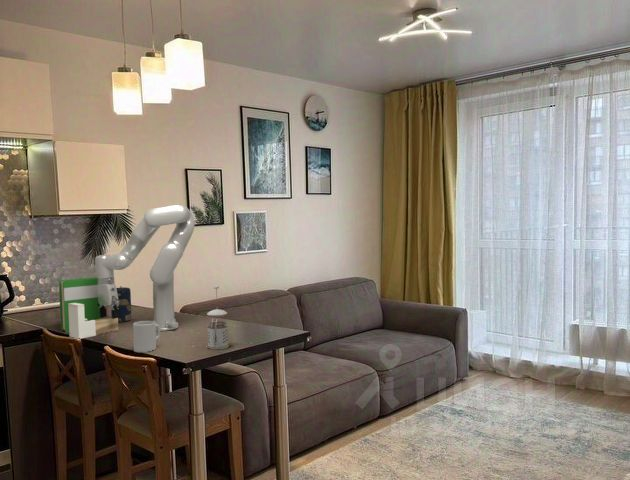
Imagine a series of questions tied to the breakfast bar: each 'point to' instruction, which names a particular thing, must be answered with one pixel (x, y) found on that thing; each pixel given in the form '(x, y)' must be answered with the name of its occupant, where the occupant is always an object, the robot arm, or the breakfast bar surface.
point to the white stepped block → (80, 322)
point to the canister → (124, 304)
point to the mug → (145, 336)
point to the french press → (217, 328)
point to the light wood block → (106, 325)
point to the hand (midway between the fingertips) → (109, 317)
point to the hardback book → (78, 299)
